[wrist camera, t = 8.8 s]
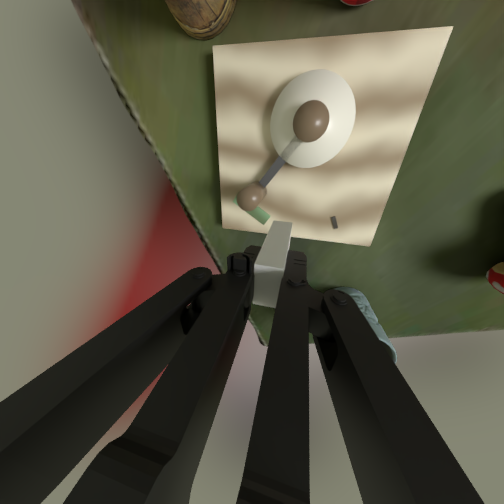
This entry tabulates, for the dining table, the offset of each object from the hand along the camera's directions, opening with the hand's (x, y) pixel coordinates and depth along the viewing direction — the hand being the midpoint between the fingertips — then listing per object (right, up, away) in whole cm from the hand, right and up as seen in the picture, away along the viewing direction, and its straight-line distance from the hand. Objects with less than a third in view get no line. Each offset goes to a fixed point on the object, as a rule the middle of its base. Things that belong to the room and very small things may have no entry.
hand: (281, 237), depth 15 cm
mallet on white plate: (+3, +13, +11) cm, 17 cm away
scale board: (+5, +13, +13) cm, 19 cm away
